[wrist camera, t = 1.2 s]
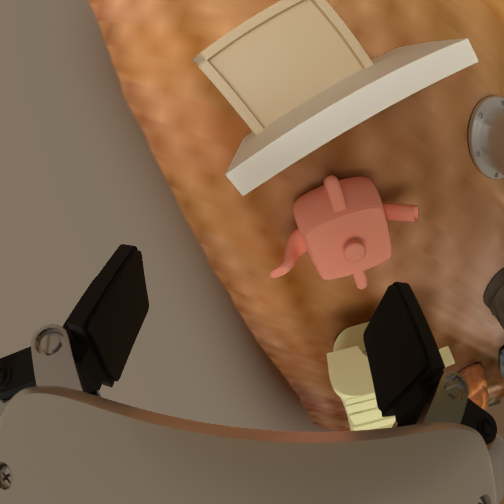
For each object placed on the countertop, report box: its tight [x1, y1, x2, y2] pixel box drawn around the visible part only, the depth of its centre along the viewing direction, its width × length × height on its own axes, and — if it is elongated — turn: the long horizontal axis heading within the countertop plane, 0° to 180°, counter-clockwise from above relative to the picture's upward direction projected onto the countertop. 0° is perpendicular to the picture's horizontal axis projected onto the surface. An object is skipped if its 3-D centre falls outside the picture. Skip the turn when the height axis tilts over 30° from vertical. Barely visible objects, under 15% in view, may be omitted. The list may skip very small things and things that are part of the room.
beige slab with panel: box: [192, 0, 479, 196], centre depth 19 cm, size 22×12×14 cm, turn 127°
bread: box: [458, 363, 489, 410], centre depth 56 cm, size 14×26×16 cm, turn 128°
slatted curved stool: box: [327, 321, 455, 431], centre depth 42 cm, size 30×16×18 cm, turn 23°
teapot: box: [270, 175, 419, 289], centre depth 31 cm, size 14×12×10 cm
